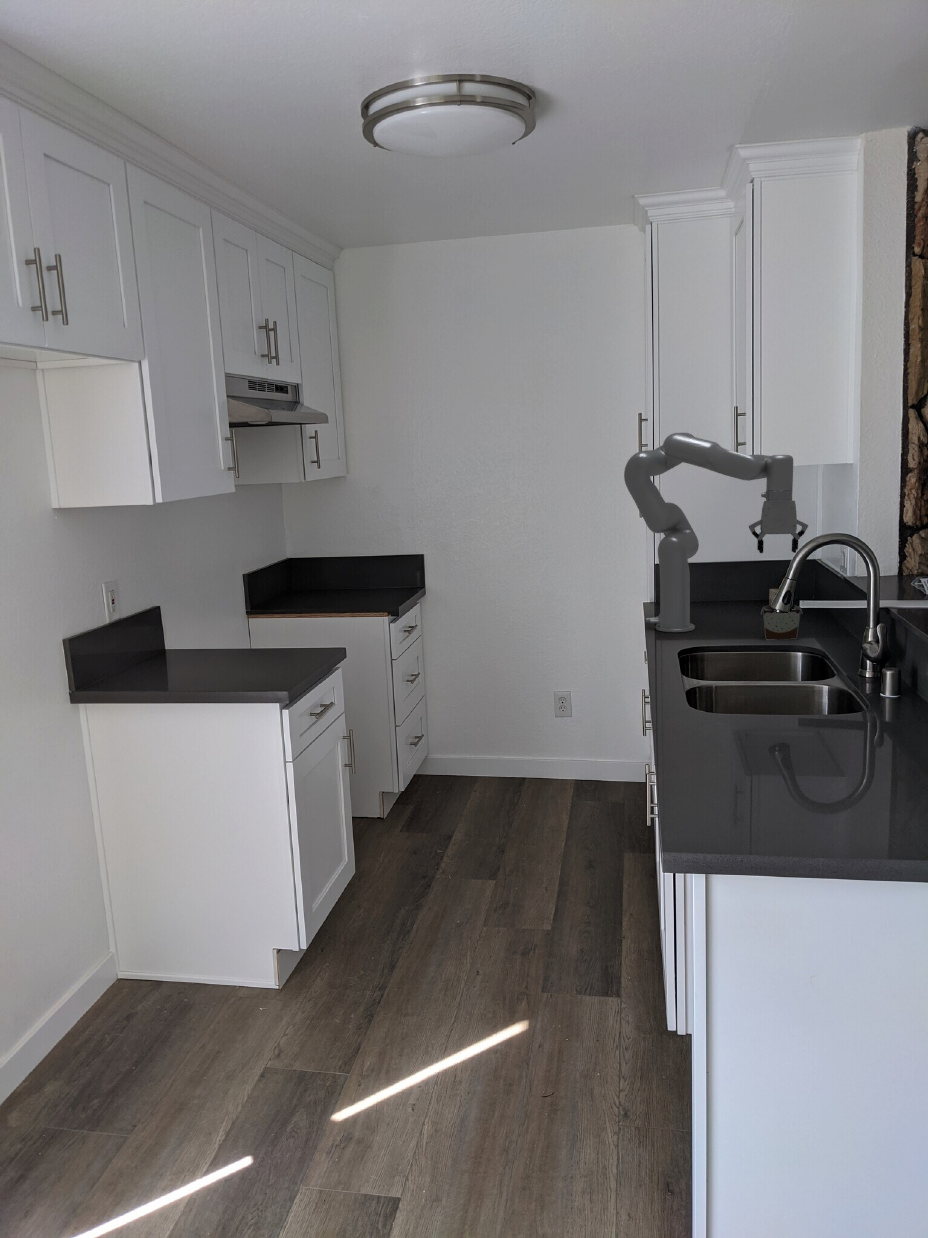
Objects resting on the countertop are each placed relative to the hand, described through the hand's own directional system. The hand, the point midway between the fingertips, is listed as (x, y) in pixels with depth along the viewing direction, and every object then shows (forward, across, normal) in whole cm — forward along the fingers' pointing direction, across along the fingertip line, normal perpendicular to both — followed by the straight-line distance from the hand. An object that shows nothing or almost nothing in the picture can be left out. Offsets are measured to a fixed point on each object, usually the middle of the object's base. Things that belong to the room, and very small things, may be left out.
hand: (777, 552), depth 286 cm
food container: (+27, +1, -2) cm, 27 cm away
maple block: (+16, +1, -2) cm, 17 cm away
